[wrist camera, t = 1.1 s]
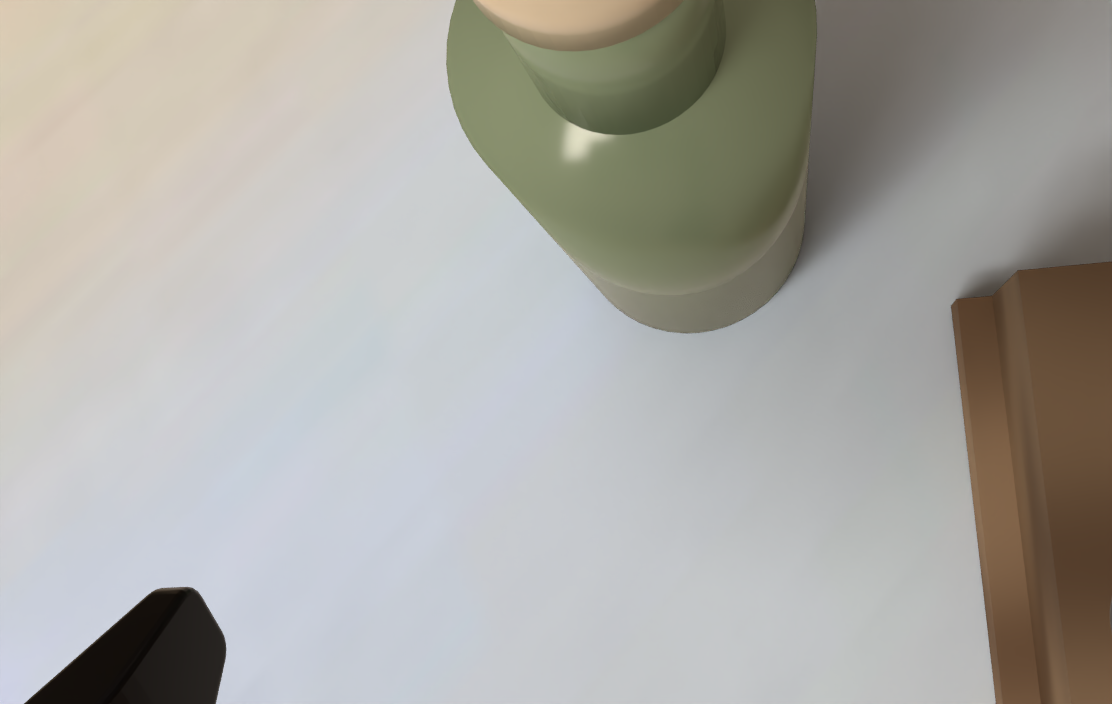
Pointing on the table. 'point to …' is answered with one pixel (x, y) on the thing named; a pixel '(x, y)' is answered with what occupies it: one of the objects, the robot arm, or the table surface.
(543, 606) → the table surface
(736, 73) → the olive bottle
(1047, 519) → the walnut U-rest
